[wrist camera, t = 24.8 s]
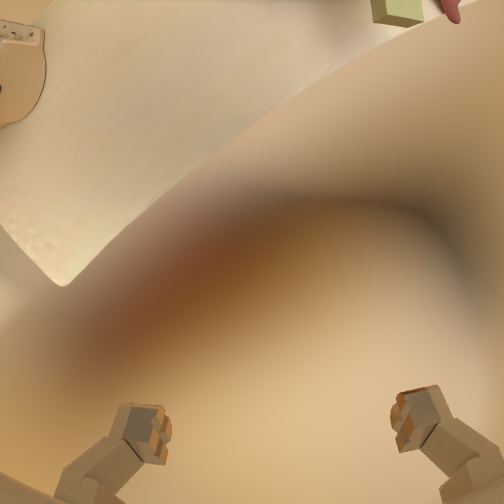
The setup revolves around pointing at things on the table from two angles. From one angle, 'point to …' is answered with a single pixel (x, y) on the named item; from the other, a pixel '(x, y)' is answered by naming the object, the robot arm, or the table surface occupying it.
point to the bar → (397, 12)
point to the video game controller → (451, 10)
